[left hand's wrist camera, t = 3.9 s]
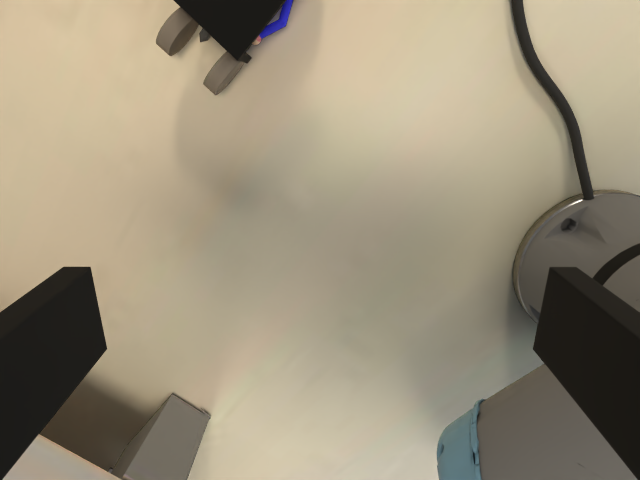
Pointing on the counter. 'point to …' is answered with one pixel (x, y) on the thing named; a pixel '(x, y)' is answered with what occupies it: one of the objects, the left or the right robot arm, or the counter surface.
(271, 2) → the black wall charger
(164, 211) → the counter surface
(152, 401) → the counter surface
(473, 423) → the left robot arm
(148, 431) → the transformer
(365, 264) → the counter surface
